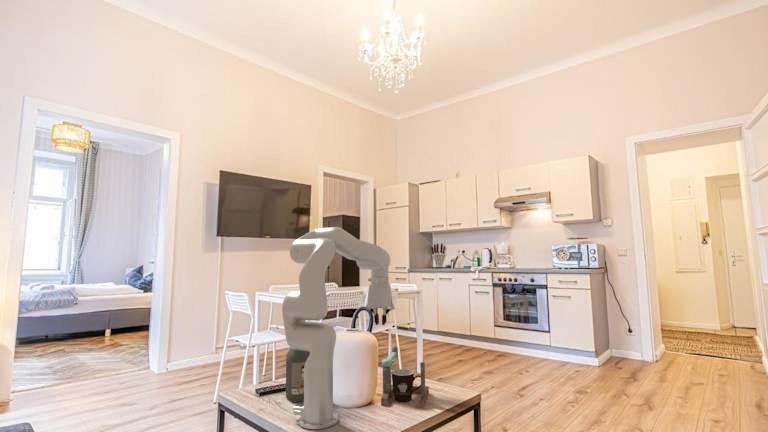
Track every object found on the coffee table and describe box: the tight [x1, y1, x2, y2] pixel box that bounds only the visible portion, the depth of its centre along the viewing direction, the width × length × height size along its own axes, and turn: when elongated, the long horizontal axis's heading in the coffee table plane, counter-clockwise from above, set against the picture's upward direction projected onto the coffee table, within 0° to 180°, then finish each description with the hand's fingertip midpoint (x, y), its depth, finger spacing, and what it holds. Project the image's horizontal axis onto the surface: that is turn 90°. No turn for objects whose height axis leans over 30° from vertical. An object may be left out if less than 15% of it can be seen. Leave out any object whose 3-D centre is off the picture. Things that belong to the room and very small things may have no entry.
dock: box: [380, 361, 430, 409], centre depth 150 cm, size 16×16×14 cm
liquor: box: [285, 347, 310, 403], centre depth 153 cm, size 9×9×30 cm
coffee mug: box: [391, 368, 421, 404], centre depth 148 cm, size 12×9×10 cm
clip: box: [381, 346, 399, 368], centre depth 158 cm, size 18×4×4 cm, turn 167°
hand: (380, 324), depth 168 cm, fingers closed
